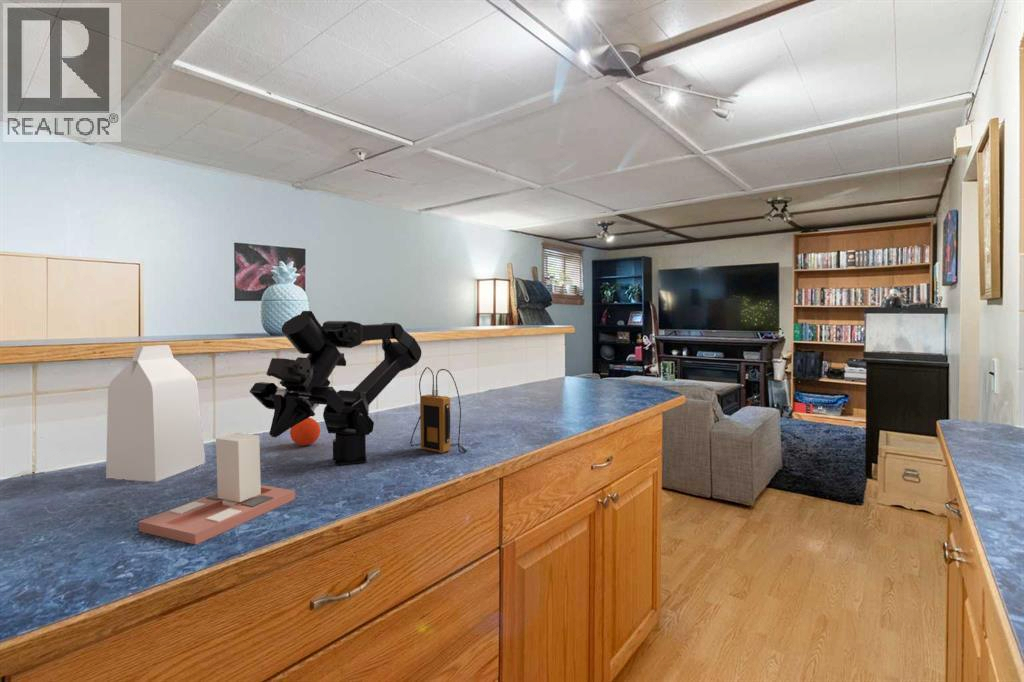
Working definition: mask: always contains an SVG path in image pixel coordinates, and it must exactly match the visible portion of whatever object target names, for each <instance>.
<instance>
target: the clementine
mask: <svg viewBox="0 0 1024 682" xmlns="http://www.w3.org/2000/svg"><path fill="white" fill-rule="evenodd" d="M289 430H290V431H289V436H290V438H291V440H292V441H293V442H294V443H295V444H297V445H299V446H302V445H303V447H305V446H304V445H307V446H309V445H313V444H314V443H315V442H317V440H318V439H319V437H320V434H321V427H320V423H318V421H317V420H315V419H314V418H312V417H309V418H307V419H305V420H303V421H301V422H300V423H298V424H296V425H295V426H293V427H291V428H290V429H289Z"/></svg>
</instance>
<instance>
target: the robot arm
mask: <svg viewBox="0 0 1024 682" xmlns="http://www.w3.org/2000/svg"><path fill="white" fill-rule="evenodd" d="M281 332H282V334H283V335H284V336H285V338H286V339H287V340H288V341H289V342H290V343H291V344H292V346H293V347H294V348H295V350H297V352H298V353H300V354H302V355H306V354H308V355H306V356H305V357H302V356H300V357H297V358H296V359H290V358H282V357H281V358H279V357H278V358H277V357H272V358H271V360H270V362H269V366H268V367H267V370H266V376H268V377H273V378H275V379H277V380H280V381H279V384H280V385H281V387H285V388H281V387H278V386H277V384H276V383H274V382H265V381H264V382H263V381H262V382H261V381H258V382H255V383H254V384H253V386H252V387H251V388H250V390H249V393H250V394H251V395H252V396H253V397H254V398H255V399H256V400H258V402H259V403H260V404H261V405H262V406H263V407H265V408H266V409H268V410H274V413H273V415H272V416H273V417H272V421H271V425H270V430H269V436H270V437H271V438H277V437H279V436H280V435H282V434H283V433H285V432H287V431H288V430H290V429H291V427H293V426H295V425H296V424H298V423H300V422H301V421H303V420H305V419H307V418H312V417H314V416H316V413H315V410H316V408H317V407H319V406H320V405H325V406H324V408H323V412H322V413H323V414H322V417H323V420H324V424H325V428H326V430H327V433H328V434H335V437H334V438H333V440H332V460H333V461H334V463H335V464H334V465H336V466H340V465H350V464H360V463H367V462H368V459H367V452H366V451H367V450H366V448H367V446H366V443H367V442H366V436H369V435H370V433H373V431H374V425H375V422H374V421H373V419H372V418H371V417H370V416H369V411H370V409H369V408H370V405H371V403H372V402H373V401H374V400H375V399H376V398H377V397H378V396H379V394H381V393H382V391H383V390H384V389H386V388H387V386H388V385H389V384H390V383H391V382H392V381H393V380H394V378H395V377H396V376H397V375H398V374H399V373H401V372H402V371H405V370H407V369H411V368H412V367H414V366H415V365H417V364H418V363H419V361H420V360H421V357H422V348H421V347H420V345H419V343H418V342H417V340H416V338H415V337H414V336H412V335H411V334H409V333H408V332H407V331H405V330H404V328H403V326H402V324H400V323H398V322H383V323H377V324H376V323H375V324H371V323H370V324H362V323H361V322H356V321H351V320H327V321H324V322H323V323H322V324H321V323H320V322H319V321H318V319H317V318H316V316H315V314H314V313H313V312H312V311H311V310H302V311H301V313H300V314H297V315H294V316H293V317H291V318H290V319H288V320H287V321H285V322H284V323H283V325H282V327H281ZM379 340H381V341H382V342H381V349H382V350H383V354H384V358H383V360H382V361H380V363H379V364H378V365H377V366H376V367H375V368H374V369H373V370H371V372H370V373H369V374H368V375H367V376H366V377H365V378H364V379H363V380H362V381H361V382H360V383H359V384H358V385H356V387H355V388H354V389H353V390H344V389H342V390H341V389H339V390H338V391H337V390H336V389H335V388H334V387H333V386H330V384H331V381H330V380H329V378H330V376H331V374H332V372H333V371H334V370H335V368H336V366H337V367H347V360H346V359H345V353H343V352H342V353H341V351H339V349H338V348H341V349H352V348H355V347H358V346H360V345H362V344H363V342H364V343H365V342H369V341H379ZM392 340H396V341H392Z"/></svg>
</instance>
